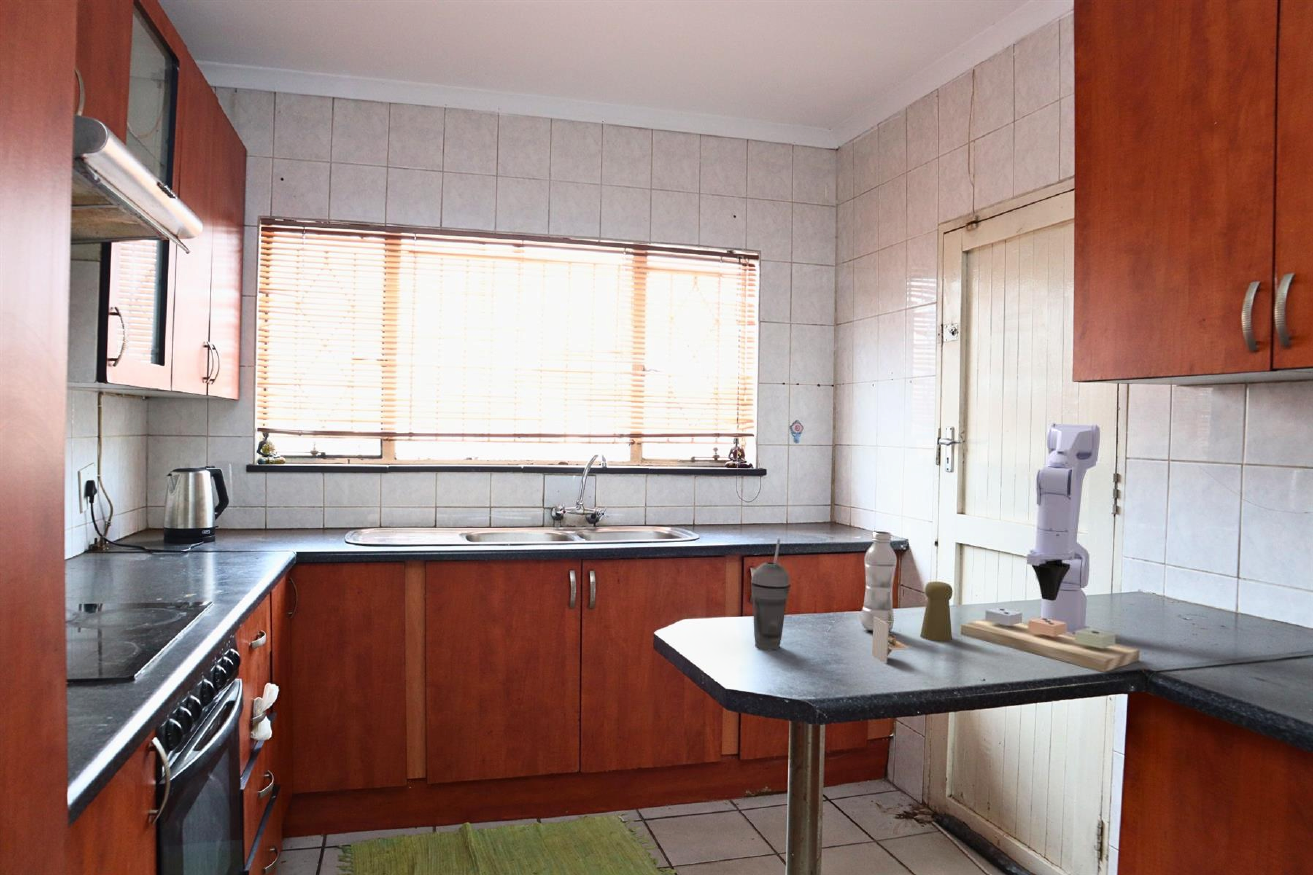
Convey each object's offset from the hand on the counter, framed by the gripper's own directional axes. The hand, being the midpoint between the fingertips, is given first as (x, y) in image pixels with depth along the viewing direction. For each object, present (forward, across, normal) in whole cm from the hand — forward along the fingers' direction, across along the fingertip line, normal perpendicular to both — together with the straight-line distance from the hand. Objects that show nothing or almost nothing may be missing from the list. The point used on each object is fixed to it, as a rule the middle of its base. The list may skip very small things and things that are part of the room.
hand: (1048, 599), depth 161 cm
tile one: (+6, 0, +9) cm, 11 cm away
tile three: (+6, 0, 0) cm, 6 cm away
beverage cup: (+10, +49, -27) cm, 57 cm away
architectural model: (+10, +36, -11) cm, 39 cm away
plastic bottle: (+10, +21, -24) cm, 33 cm away
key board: (+9, 0, 0) cm, 9 cm away
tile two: (+6, 0, -9) cm, 11 cm away
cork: (+10, +14, -15) cm, 23 cm away
